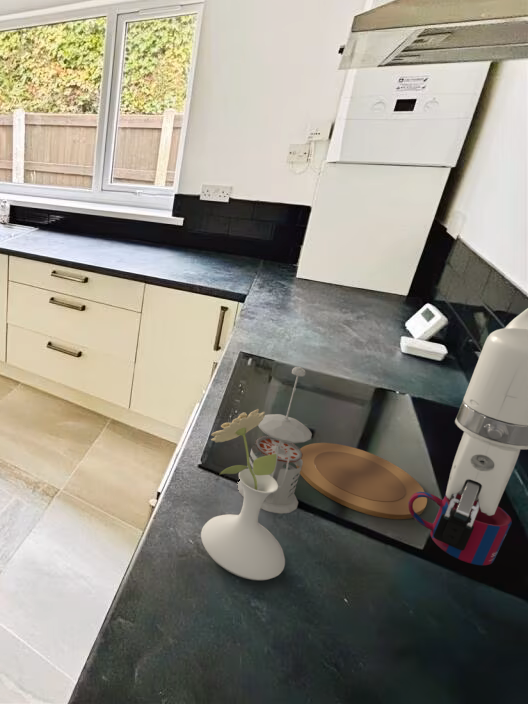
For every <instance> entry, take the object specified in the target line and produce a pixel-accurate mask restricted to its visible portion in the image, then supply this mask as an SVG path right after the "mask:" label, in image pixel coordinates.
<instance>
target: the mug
mask: <svg viewBox="0 0 528 704" xmlns="http://www.w3.org/2000/svg"><path fill="white" fill-rule="evenodd" d="M461 496H462V495H459V494H458V493H457V496H456V498H458V499H461ZM419 497H426V498H427V499H430V500H431V501H433V502H435V503H436V504H437V505H438V507H439V508H438V511H437V513H436V517H435V519H434V520H433V522H429V521H427V520H425V519H424V518H422V517H420V515H417V514H416V513H415V512H414V510H413V502H414V500H415V499H417V498H419ZM450 500H451V498H450ZM450 500H449V499H448V498H447V496H446V494H444V497H443V499H441V498H440V497H438V496H436V495H434V494H432V493H429V492H426V491H425V492H417V493H415V494H413V495H412V496H411V498H410V500H409V503H408V507H409V512H410V513H411V515H412V516H413V519H415V521H417V522H418V524H421V525H422V526H423V527H425V528H426V529H427V530H428V529H429V530H430V539H432V541H433V542H434V543H435V545H436V546H437V547H439V548H440V550H442V551H443V552H445V553H446V554H448V555H449V556H451V557H453V558H455V559H458V560H459V561H462V562H465V563H468V564H470V565H471V564H472V565H475V566H488V565H492V564H494V561H495V559H496V557H497V555H498V553H499V550H500V549H501V547H502V545H503V543H504V540H505V538H506V536H507V534H508V532H509V529H510V528H511V526H512V521H513V520H512V518H511V516H510V515H509V513H507V511H505V509H503V508H501V507H500V505H498V507H497V509H496V512H495V514H494V515H491V516H489V515H487V514H486V513H483V512H481V509H480V508H479V511H478V513H477V515H476V518H475V520H474V523H473V525H472V526H473V527H474V529H473V531H472V533H471V536H470V538H469V540H468V543H467V545H466V547H465V549H464V550H459V549H457V548H454V547H452V546H450V545H448V544H446V543H444V542H441V541H439V540H437V539H435V538H434V533H435V531H436V528H437V526H438V523H439V521H440V518H441V516H442V513H443V514H445V513H446V510H447V508H448V505H449V503H450ZM477 501H478V500H477ZM477 501H474V504H473V505H475V506H476V503H477ZM457 507H458V504H457V503H455V505H454V508H453V510H454V509H455V510H456V509H457ZM471 511H472V509H471ZM470 514H471V512H470ZM470 514H469V515H470Z"/></svg>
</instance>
